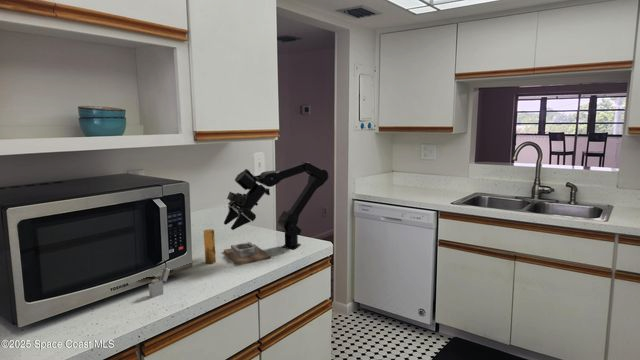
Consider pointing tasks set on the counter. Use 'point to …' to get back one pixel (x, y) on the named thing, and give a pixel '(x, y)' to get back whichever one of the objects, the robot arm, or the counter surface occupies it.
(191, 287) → the counter surface
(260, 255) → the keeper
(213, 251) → the post
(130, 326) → the counter surface
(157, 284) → the lighter
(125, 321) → the counter surface
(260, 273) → the counter surface
